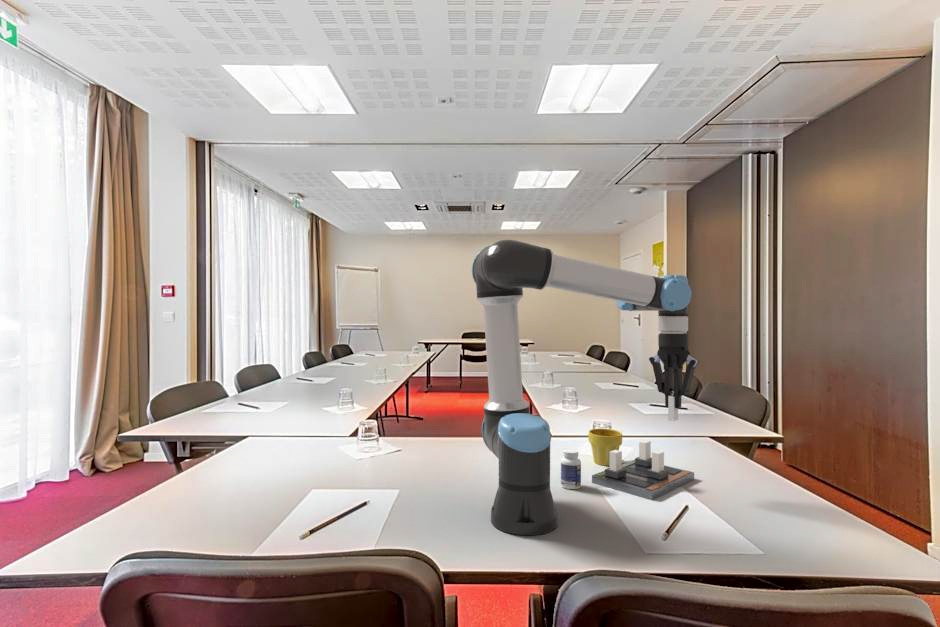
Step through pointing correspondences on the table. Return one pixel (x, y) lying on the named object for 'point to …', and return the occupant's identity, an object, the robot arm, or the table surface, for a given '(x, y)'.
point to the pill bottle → (570, 470)
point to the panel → (644, 480)
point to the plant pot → (604, 444)
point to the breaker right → (644, 454)
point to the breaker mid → (658, 466)
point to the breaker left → (615, 465)
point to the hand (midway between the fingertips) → (673, 419)
